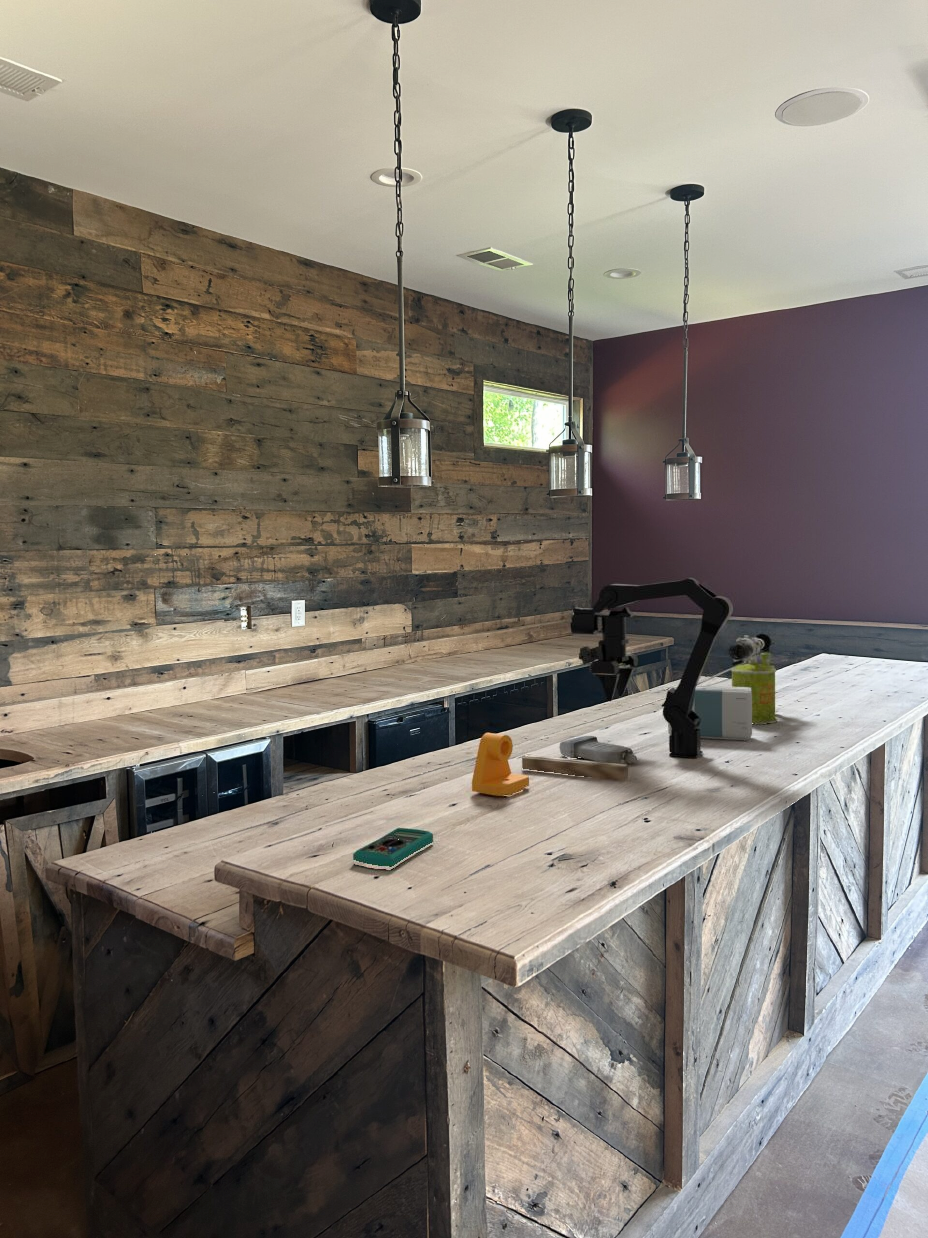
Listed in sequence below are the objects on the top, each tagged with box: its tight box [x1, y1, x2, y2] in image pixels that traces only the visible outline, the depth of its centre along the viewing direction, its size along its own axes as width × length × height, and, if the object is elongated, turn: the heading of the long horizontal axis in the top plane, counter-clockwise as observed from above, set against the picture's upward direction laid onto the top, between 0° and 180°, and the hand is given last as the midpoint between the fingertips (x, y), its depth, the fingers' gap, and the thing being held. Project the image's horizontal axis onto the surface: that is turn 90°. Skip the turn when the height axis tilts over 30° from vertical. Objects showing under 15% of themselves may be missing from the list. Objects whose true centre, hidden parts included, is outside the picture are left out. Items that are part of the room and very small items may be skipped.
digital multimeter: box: [352, 827, 434, 867], centre depth 150 cm, size 7×15×3 cm, turn 154°
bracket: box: [471, 732, 530, 797], centre depth 188 cm, size 11×7×12 cm, turn 141°
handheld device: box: [559, 735, 638, 764], centre depth 215 cm, size 10×20×5 cm, turn 45°
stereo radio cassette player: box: [667, 661, 753, 742], centre depth 237 cm, size 21×8×20 cm, turn 68°
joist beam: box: [521, 754, 629, 782], centre depth 201 cm, size 24×3×3 cm, turn 61°
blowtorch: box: [728, 633, 778, 725], centre depth 258 cm, size 13×33×25 cm, turn 148°
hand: (615, 698), depth 224 cm, fingers open, 8 cm apart
